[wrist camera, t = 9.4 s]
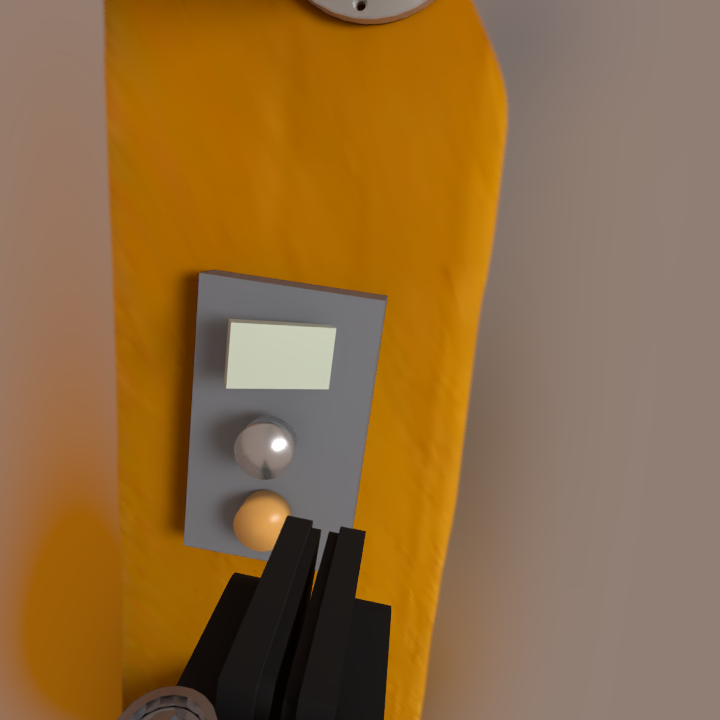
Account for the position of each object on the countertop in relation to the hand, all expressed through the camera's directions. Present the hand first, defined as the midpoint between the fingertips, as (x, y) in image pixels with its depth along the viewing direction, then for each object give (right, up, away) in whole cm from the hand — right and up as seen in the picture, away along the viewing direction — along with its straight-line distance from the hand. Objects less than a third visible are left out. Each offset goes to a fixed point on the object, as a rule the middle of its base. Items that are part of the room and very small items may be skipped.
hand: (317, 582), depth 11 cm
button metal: (-5, -1, +23) cm, 24 cm away
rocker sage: (-4, +5, +22) cm, 23 cm away
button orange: (-6, -6, +26) cm, 27 cm away
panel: (-5, 0, +27) cm, 28 cm away
